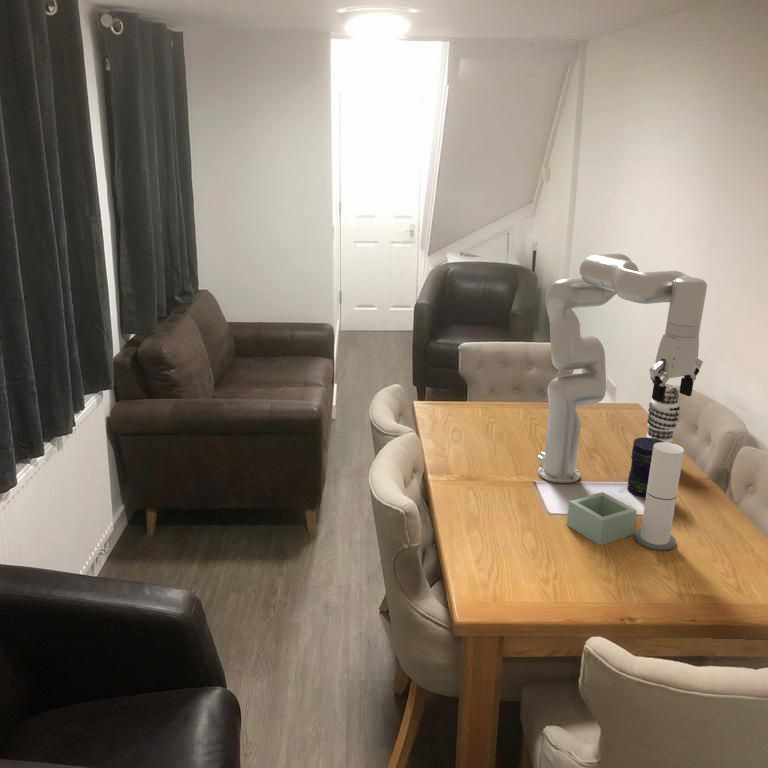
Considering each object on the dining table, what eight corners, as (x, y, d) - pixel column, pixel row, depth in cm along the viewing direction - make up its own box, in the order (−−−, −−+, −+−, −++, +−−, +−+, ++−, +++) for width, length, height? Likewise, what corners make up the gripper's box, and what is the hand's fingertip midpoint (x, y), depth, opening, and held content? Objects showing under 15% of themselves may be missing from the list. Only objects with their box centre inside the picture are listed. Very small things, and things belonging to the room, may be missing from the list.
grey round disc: (626, 536, 203) (626, 534, 202) (653, 528, 208) (653, 525, 207) (656, 554, 195) (657, 551, 194) (683, 545, 199) (684, 542, 199)
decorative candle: (667, 455, 255) (678, 382, 247) (674, 467, 246) (686, 392, 238) (638, 453, 255) (648, 381, 248) (644, 465, 247) (655, 390, 239)
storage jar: (664, 500, 224) (671, 452, 219) (628, 496, 225) (635, 448, 221) (659, 485, 233) (666, 439, 228) (625, 482, 235) (631, 435, 230)
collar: (566, 525, 208) (569, 501, 206) (599, 515, 214) (602, 492, 212) (599, 545, 198) (602, 520, 196) (633, 534, 204) (636, 510, 202)
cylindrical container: (650, 546, 197) (664, 454, 189) (634, 532, 203) (647, 443, 196) (675, 543, 199) (690, 452, 191) (658, 529, 205) (672, 441, 197)
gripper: (694, 322, 193) (683, 388, 199) (644, 329, 185) (634, 397, 191) (719, 330, 187) (707, 397, 193) (669, 337, 179) (658, 407, 184)
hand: (671, 397), depth 192 cm, fingers open, 9 cm apart
